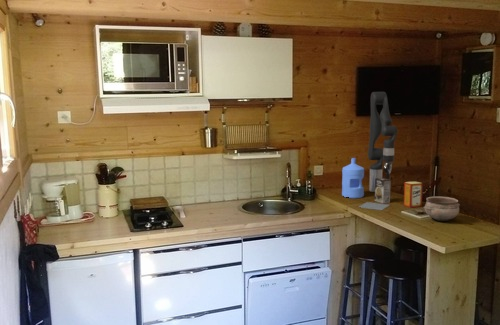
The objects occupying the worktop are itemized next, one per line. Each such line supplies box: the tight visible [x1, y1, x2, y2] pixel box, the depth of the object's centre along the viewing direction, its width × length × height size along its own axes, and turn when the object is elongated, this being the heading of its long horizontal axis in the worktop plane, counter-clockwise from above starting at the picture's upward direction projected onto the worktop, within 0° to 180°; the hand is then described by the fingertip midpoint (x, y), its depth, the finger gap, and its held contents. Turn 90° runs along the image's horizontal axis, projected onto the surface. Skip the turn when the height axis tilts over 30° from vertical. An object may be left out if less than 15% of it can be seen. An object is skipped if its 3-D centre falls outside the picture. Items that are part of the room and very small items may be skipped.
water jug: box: [341, 157, 365, 199], centre depth 340 cm, size 16×16×28 cm
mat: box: [358, 201, 391, 211], centre depth 311 cm, size 16×16×1 cm
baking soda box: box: [403, 181, 424, 209], centre depth 310 cm, size 10×6×16 cm
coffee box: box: [374, 177, 392, 204], centre depth 323 cm, size 9×6×16 cm
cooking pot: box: [423, 196, 461, 222], centre depth 276 cm, size 25×19×12 cm
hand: (387, 178), depth 330 cm, fingers closed
